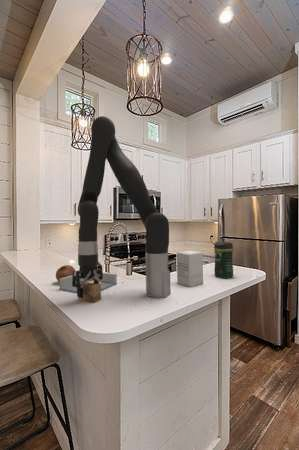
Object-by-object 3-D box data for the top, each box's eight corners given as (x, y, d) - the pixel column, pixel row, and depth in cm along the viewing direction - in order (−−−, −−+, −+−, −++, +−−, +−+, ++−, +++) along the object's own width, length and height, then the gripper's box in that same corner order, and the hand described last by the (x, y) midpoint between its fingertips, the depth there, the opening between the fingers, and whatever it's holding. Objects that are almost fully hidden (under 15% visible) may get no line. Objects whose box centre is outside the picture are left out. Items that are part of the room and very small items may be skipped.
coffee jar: (236, 277, 120) (235, 241, 119) (223, 279, 117) (222, 242, 117) (224, 273, 129) (223, 240, 129) (211, 275, 126) (211, 241, 126)
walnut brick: (101, 299, 90) (100, 284, 90) (94, 303, 87) (93, 287, 87) (85, 296, 94) (85, 282, 94) (78, 299, 91) (77, 284, 90)
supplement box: (190, 280, 117) (190, 250, 117) (203, 283, 110) (203, 252, 109) (176, 283, 112) (176, 251, 112) (189, 287, 105) (188, 254, 104)
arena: (116, 284, 111) (116, 274, 111) (90, 295, 95) (90, 283, 95) (88, 280, 120) (87, 270, 120) (59, 290, 104) (59, 278, 104)
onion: (64, 291, 112) (60, 274, 107) (54, 283, 118) (49, 267, 113) (81, 280, 119) (77, 264, 114) (70, 273, 124) (66, 257, 119)
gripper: (81, 255, 82) (82, 301, 83) (107, 251, 95) (107, 290, 95) (66, 254, 86) (67, 298, 86) (93, 250, 98) (93, 288, 99)
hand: (88, 294), depth 91 cm, fingers open, 8 cm apart
